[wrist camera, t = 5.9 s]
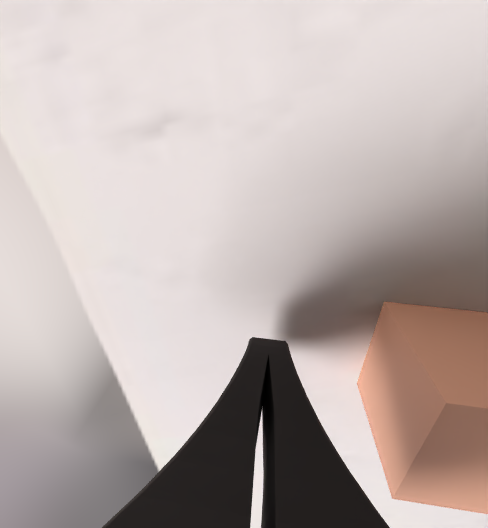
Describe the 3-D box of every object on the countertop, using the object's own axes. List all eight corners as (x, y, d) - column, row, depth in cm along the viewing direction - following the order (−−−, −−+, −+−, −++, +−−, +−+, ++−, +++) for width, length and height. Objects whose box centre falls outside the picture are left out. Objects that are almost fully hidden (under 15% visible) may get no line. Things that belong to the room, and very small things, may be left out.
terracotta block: (459, 395, 12) (546, 523, 8) (356, 381, 12) (392, 498, 8) (506, 313, 10) (653, 430, 6) (383, 300, 10) (445, 402, 6)
